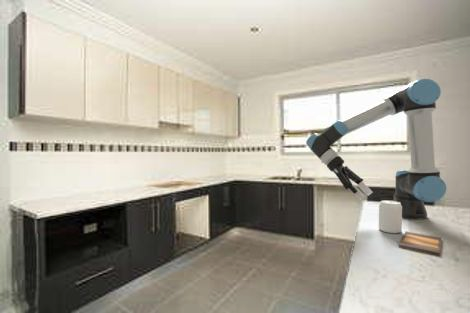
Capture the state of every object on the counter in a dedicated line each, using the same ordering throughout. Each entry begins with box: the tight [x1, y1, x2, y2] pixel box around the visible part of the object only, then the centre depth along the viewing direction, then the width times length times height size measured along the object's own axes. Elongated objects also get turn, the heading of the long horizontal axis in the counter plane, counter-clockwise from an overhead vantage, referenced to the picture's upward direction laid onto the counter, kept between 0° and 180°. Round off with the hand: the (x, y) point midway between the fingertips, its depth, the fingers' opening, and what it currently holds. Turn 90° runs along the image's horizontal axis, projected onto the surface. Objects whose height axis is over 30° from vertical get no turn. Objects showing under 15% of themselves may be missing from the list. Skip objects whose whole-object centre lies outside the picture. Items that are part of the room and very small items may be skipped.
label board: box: [398, 231, 442, 257], centre depth 90 cm, size 18×11×1 cm, turn 139°
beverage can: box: [378, 199, 403, 234], centre depth 104 cm, size 8×8×12 cm
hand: (366, 196), depth 109 cm, fingers open, 13 cm apart
